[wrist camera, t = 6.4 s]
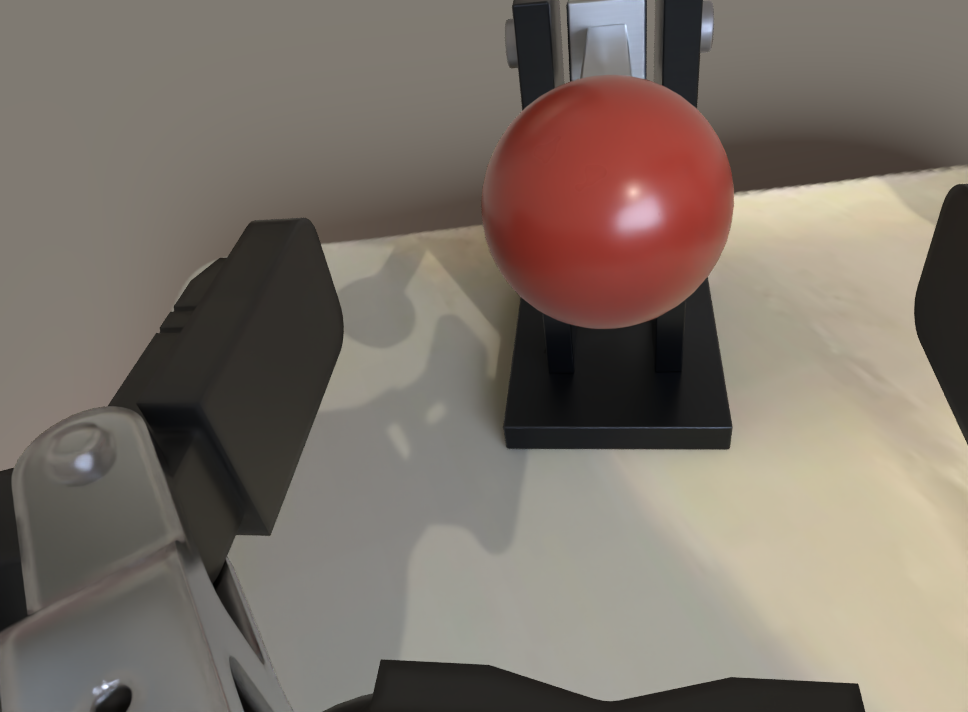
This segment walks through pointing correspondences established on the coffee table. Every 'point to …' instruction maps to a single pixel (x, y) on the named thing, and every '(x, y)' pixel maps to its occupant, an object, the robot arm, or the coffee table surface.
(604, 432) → the black lever stand
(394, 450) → the coffee table surface
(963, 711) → the coffee table surface
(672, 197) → the red knobbed lever
